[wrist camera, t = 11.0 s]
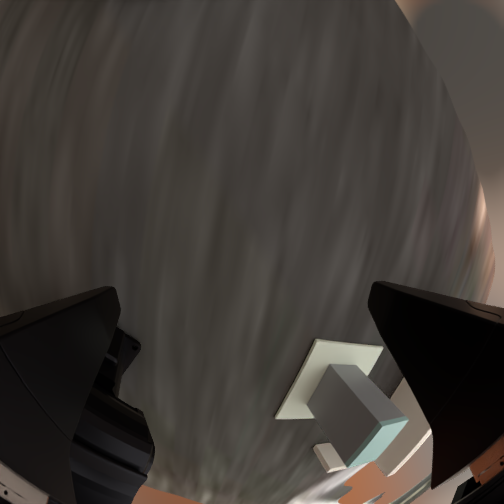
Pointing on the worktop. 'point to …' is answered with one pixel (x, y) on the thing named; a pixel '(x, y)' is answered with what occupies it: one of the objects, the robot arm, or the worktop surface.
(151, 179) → the worktop surface
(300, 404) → the mat
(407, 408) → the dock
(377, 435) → the grey teal block
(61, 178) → the worktop surface
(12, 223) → the worktop surface
